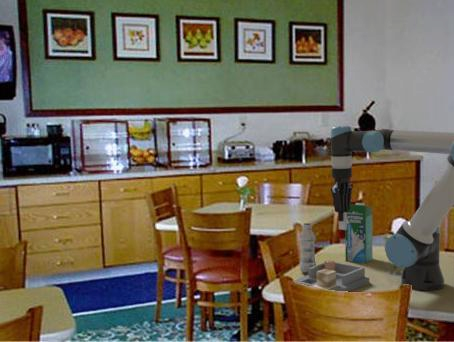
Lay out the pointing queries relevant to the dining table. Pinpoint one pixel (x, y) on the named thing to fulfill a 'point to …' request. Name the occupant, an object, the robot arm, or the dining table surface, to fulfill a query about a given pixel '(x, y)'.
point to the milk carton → (359, 233)
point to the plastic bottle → (307, 248)
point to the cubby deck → (338, 277)
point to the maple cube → (326, 278)
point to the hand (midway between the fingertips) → (342, 229)
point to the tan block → (330, 265)
